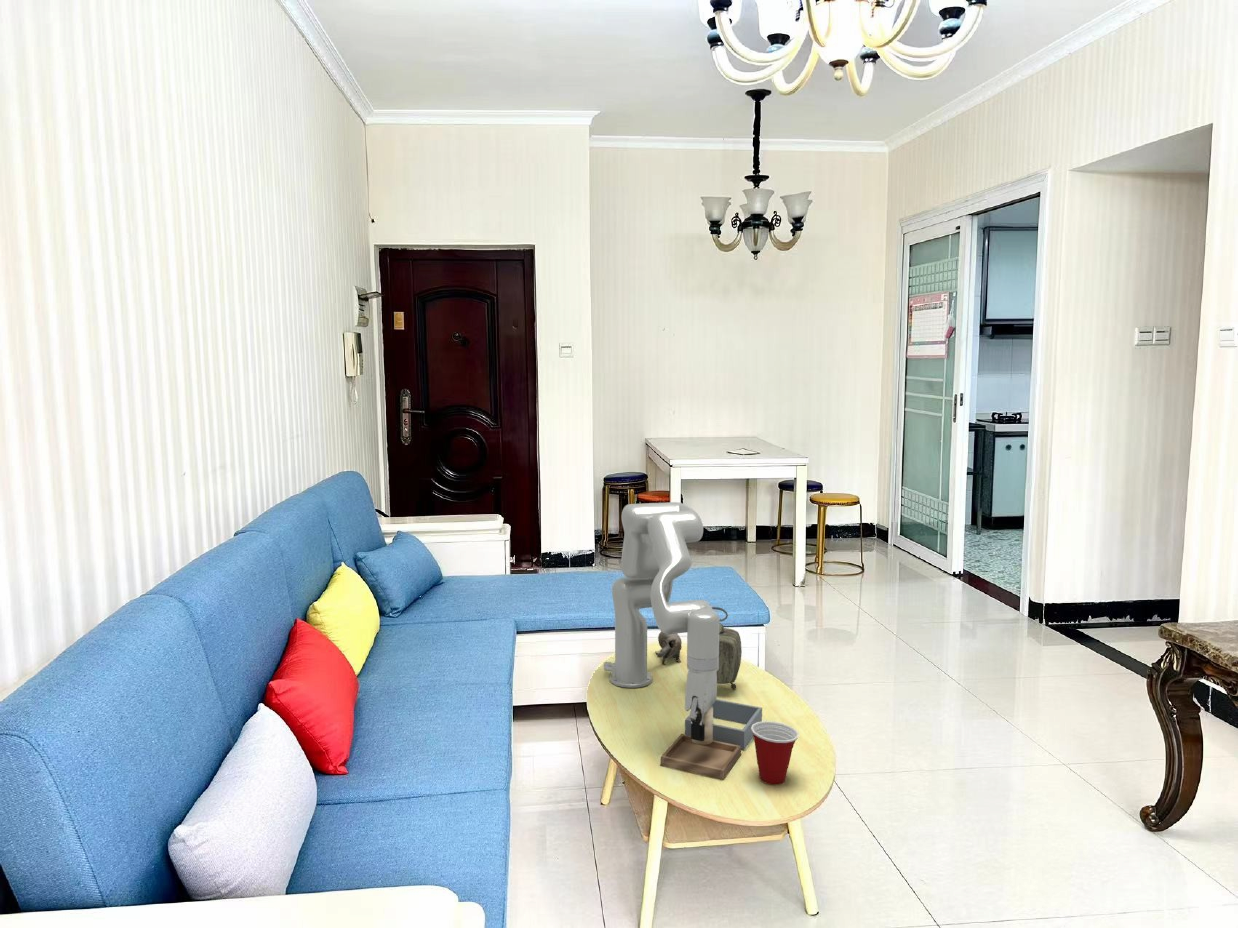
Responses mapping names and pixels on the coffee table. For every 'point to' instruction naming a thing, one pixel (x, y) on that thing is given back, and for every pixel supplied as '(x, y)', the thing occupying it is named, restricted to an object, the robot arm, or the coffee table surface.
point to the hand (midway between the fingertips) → (701, 734)
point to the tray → (701, 757)
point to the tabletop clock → (728, 654)
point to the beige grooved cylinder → (707, 727)
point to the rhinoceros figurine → (669, 646)
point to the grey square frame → (735, 714)
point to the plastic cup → (773, 749)
